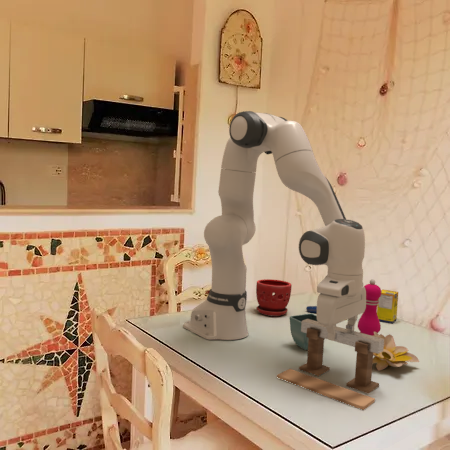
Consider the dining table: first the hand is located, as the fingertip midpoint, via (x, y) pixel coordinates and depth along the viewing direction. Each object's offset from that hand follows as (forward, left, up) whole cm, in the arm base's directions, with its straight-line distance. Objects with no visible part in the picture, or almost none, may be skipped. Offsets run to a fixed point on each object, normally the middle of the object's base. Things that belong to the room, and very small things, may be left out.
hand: (341, 335), depth 128 cm
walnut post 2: (+7, 0, -11) cm, 13 cm away
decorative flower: (+6, +17, -12) cm, 22 cm away
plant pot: (-47, +36, -12) cm, 60 cm away
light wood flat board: (+1, -9, -11) cm, 15 cm away
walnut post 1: (-7, 0, -11) cm, 13 cm away
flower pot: (-18, +14, -12) cm, 26 cm away
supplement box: (-13, +61, -12) cm, 63 cm away
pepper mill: (-8, +35, -12) cm, 38 cm away
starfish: (-32, +52, -12) cm, 62 cm away
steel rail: (0, 0, -1) cm, 1 cm away
